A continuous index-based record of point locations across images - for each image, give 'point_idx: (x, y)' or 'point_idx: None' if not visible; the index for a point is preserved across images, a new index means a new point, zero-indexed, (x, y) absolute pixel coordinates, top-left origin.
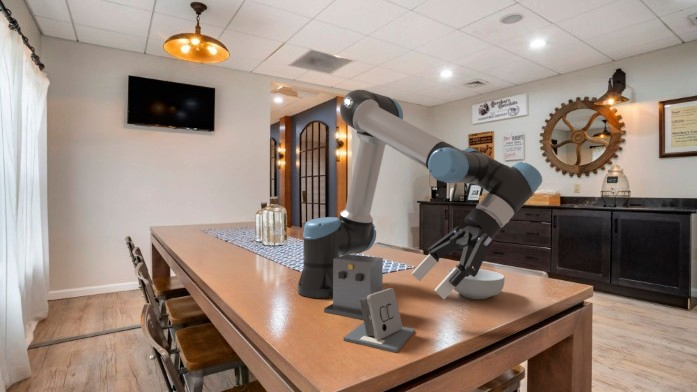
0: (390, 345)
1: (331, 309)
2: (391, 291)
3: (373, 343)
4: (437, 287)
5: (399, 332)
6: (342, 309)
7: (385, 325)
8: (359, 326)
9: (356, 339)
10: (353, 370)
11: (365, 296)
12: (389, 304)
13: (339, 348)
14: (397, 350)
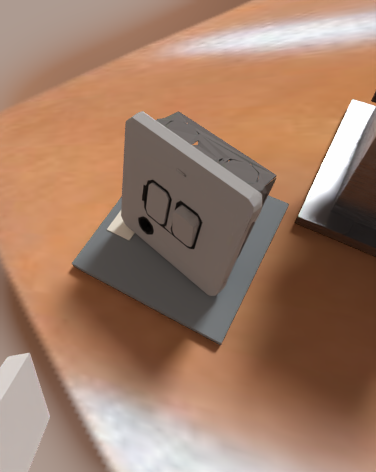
0: (98, 251)
1: (346, 114)
2: (231, 199)
3: (115, 211)
4: (11, 370)
5: (189, 287)
6: (354, 139)
7: (151, 226)
8: None
9: None
10: (9, 174)
11: (358, 161)
12: (193, 213)
13: (114, 148)
14: (80, 269)
